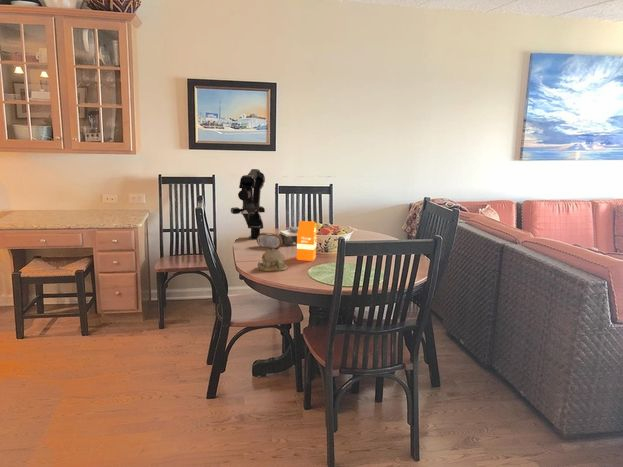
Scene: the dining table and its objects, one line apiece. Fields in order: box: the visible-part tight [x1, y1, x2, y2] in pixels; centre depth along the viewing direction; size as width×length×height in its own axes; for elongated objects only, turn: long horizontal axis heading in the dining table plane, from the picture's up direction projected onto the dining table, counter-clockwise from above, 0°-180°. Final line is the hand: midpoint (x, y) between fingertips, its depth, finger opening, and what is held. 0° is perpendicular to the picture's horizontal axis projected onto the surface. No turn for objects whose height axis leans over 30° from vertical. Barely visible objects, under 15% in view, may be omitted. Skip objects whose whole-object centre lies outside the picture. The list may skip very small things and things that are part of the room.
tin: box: [256, 232, 284, 250], centre depth 265 cm, size 15×3×8 cm, turn 75°
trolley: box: [278, 226, 298, 247], centre depth 277 cm, size 10×13×9 cm
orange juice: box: [296, 220, 317, 262], centre depth 244 cm, size 8×9×20 cm
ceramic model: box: [257, 248, 289, 272], centre depth 226 cm, size 14×11×10 cm
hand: (247, 224), depth 268 cm, fingers closed
